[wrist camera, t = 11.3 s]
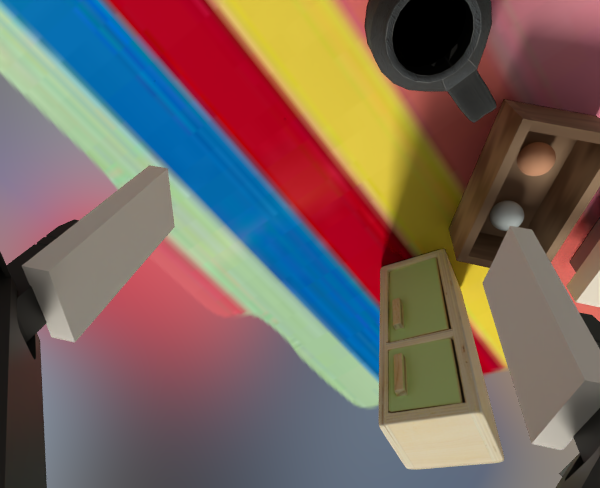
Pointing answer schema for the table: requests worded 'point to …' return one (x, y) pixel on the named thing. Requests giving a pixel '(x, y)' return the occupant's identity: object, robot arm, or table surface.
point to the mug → (433, 47)
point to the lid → (587, 280)
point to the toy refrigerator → (431, 369)
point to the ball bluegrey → (506, 215)
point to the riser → (586, 247)
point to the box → (529, 180)
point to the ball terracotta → (536, 159)
